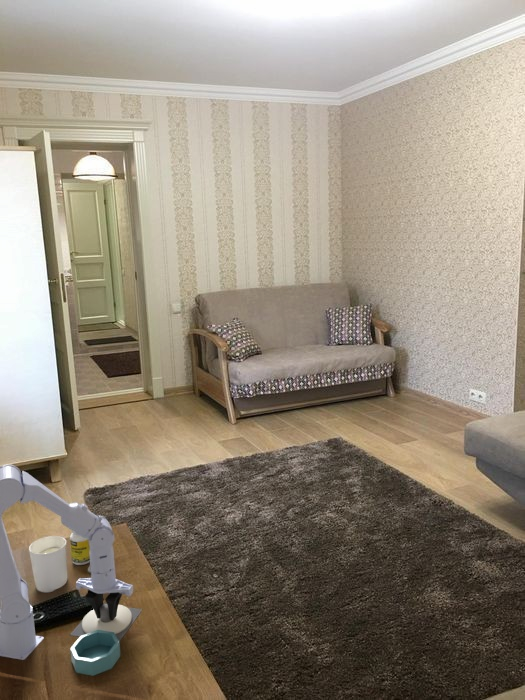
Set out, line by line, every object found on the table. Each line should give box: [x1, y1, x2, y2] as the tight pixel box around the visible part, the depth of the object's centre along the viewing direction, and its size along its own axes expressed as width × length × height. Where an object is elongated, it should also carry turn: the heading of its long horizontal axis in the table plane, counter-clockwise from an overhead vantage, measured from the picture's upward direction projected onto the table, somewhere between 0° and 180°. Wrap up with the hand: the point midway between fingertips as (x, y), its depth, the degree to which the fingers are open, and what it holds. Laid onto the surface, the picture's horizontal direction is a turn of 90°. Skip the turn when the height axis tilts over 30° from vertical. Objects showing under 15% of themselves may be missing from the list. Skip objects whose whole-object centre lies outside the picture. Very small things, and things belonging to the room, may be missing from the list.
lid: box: [81, 603, 132, 635], centre depth 149 cm, size 12×12×4 cm
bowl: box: [69, 630, 121, 677], centre depth 136 cm, size 10×10×4 cm
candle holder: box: [28, 535, 68, 593], centre depth 166 cm, size 10×10×12 cm
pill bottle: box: [69, 530, 90, 566], centre depth 178 cm, size 6×6×11 cm
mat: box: [69, 603, 143, 643], centre depth 149 cm, size 13×13×1 cm
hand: (106, 617), depth 149 cm, fingers closed on lid, 3 cm apart
